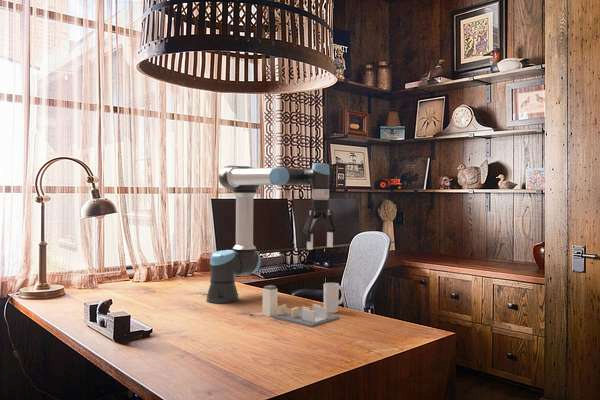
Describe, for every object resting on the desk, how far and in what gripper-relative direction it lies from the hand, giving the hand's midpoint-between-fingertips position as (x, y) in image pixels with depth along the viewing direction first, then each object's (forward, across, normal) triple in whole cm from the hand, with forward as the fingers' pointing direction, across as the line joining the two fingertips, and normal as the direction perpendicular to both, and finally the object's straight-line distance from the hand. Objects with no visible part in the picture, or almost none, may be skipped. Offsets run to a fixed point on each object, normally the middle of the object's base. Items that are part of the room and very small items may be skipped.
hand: (320, 248), depth 214 cm
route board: (+28, -11, -2) cm, 30 cm away
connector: (+28, -17, +13) cm, 35 cm away
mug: (+28, +7, -3) cm, 29 cm away
